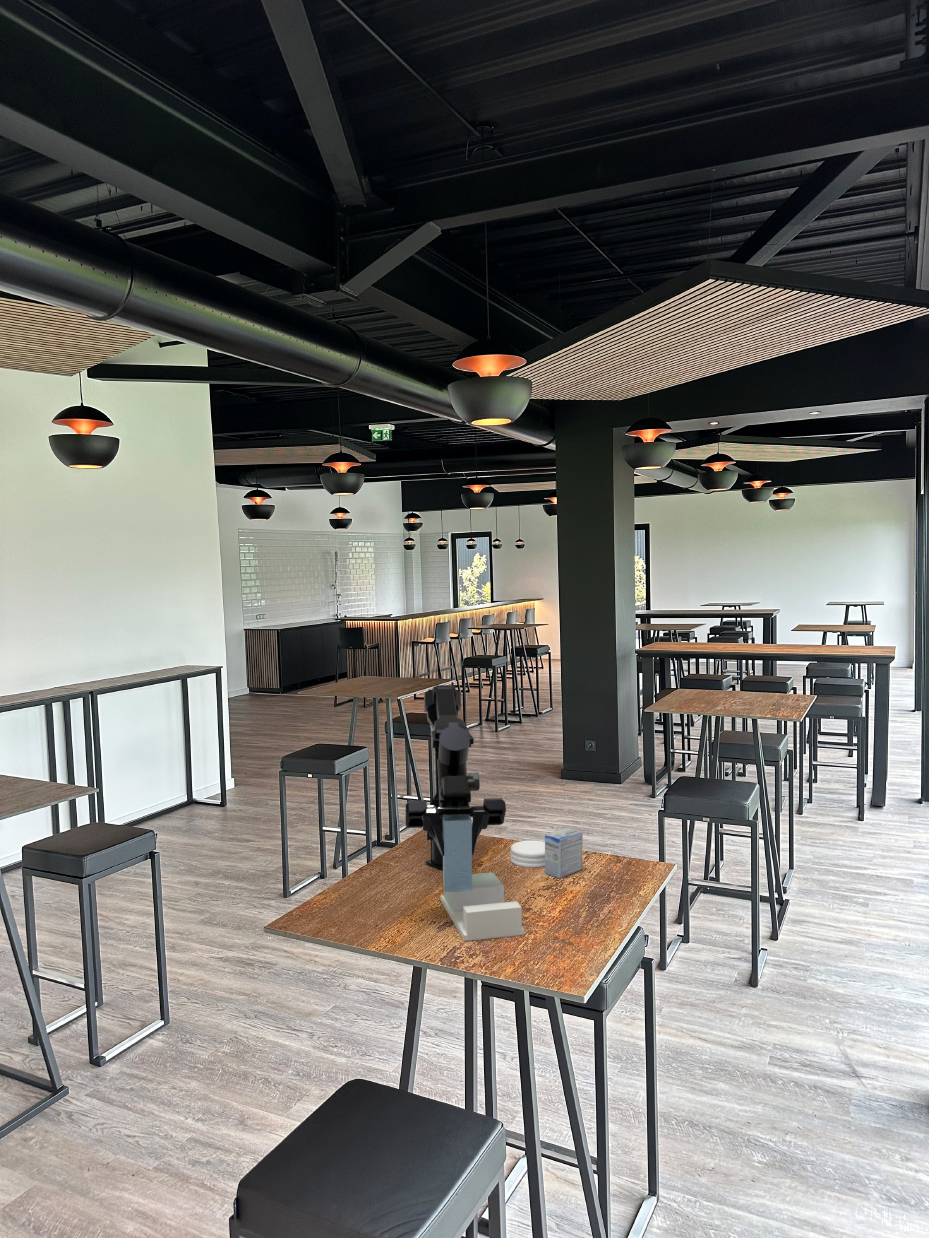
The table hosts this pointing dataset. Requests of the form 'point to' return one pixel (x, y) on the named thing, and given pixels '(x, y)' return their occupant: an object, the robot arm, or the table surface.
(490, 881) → the block
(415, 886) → the table surface
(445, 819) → the slate-blue block
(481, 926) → the vise bed
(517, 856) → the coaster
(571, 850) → the medicine box
